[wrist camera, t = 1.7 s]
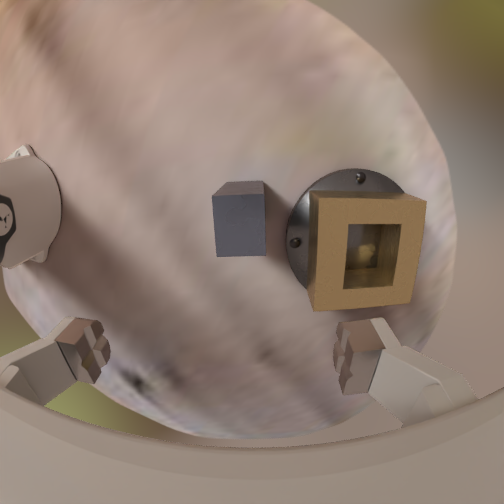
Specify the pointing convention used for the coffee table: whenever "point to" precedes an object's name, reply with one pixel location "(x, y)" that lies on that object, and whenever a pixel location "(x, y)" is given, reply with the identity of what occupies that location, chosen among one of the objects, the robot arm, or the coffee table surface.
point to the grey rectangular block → (240, 219)
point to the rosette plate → (356, 241)
